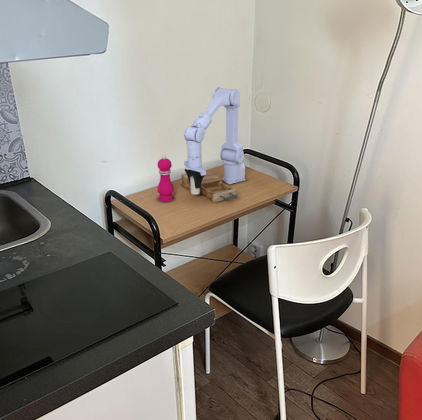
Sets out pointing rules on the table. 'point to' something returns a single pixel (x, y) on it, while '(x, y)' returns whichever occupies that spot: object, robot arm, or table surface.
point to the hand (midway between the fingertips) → (195, 186)
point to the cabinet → (206, 180)
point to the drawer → (218, 191)
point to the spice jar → (193, 187)
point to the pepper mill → (165, 180)
